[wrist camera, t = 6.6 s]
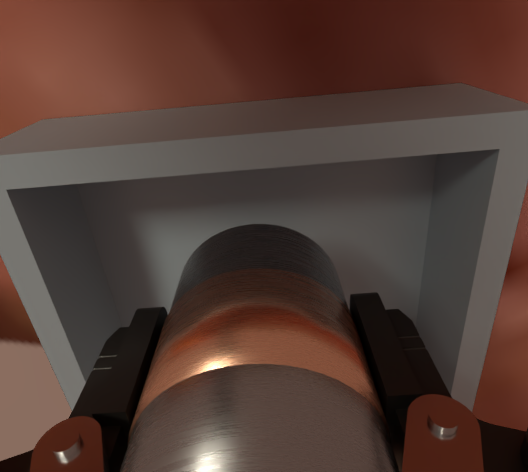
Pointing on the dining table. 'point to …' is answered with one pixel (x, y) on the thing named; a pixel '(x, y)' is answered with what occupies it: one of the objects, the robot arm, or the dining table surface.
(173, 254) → the crate
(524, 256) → the dining table surface
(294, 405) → the tin
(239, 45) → the dining table surface
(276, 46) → the dining table surface
